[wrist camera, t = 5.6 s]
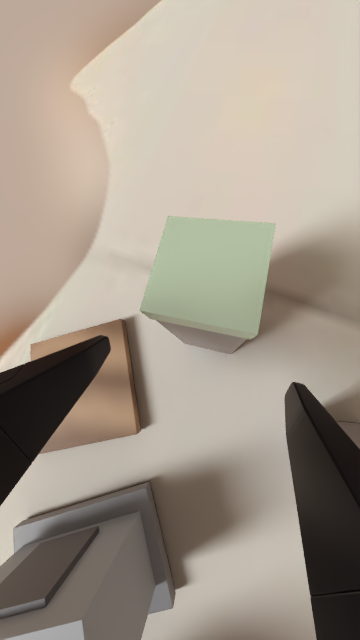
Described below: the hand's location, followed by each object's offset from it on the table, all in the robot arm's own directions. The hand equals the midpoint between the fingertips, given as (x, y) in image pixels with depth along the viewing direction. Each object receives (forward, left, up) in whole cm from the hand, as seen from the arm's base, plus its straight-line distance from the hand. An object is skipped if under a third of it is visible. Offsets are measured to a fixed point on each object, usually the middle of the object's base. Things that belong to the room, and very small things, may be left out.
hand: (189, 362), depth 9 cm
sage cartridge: (+4, -2, -11) cm, 12 cm away
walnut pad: (+3, +14, -11) cm, 18 cm away
